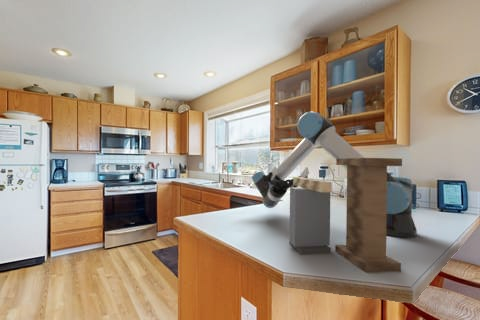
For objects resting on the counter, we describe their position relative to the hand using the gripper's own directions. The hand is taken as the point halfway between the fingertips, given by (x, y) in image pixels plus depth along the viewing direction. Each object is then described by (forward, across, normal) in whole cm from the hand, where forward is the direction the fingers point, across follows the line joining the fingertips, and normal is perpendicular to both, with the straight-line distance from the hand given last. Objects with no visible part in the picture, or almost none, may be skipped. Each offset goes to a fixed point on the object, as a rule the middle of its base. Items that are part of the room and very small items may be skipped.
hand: (291, 170), depth 95 cm
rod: (+11, 0, -13) cm, 17 cm away
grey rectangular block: (+1, 0, -30) cm, 30 cm away
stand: (+11, -12, -36) cm, 40 cm away
